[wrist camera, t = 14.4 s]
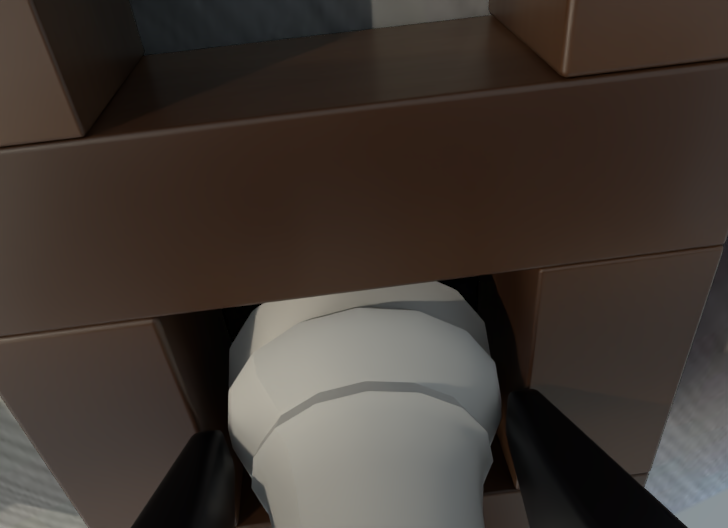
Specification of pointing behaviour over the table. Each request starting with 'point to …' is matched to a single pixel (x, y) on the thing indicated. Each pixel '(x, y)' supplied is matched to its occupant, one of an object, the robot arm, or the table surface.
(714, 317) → the table surface
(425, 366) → the rook chess piece
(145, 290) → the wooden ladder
